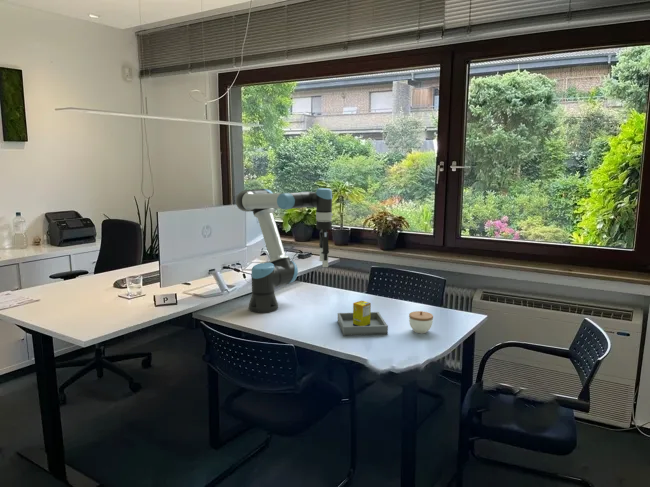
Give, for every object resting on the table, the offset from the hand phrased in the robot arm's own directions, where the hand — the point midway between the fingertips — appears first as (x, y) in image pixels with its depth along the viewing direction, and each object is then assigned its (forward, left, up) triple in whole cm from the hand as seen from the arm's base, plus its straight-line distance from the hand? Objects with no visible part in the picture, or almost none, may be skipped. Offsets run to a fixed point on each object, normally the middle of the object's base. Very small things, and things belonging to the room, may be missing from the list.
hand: (323, 263), depth 239 cm
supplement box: (+18, +16, -26) cm, 35 cm away
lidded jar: (+25, +42, -27) cm, 56 cm away
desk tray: (+18, +16, -27) cm, 36 cm away
